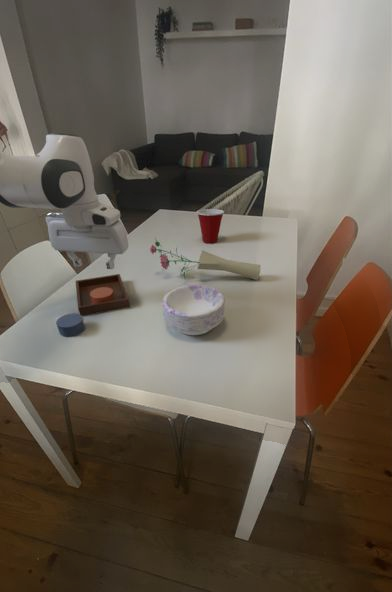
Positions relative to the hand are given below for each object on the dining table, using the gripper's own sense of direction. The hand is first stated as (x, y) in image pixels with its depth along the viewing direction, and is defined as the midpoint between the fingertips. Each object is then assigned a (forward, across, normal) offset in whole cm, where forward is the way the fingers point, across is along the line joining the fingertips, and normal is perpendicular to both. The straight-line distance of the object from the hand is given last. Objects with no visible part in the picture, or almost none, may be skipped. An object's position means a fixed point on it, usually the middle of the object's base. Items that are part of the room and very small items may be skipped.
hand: (94, 267), depth 85 cm
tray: (+11, -2, +3) cm, 12 cm away
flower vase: (+11, +26, +21) cm, 35 cm away
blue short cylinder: (+11, -2, -14) cm, 18 cm away
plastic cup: (+11, +22, +56) cm, 61 cm away
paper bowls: (+11, +29, -7) cm, 31 cm away
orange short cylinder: (+10, 0, 0) cm, 10 cm away
